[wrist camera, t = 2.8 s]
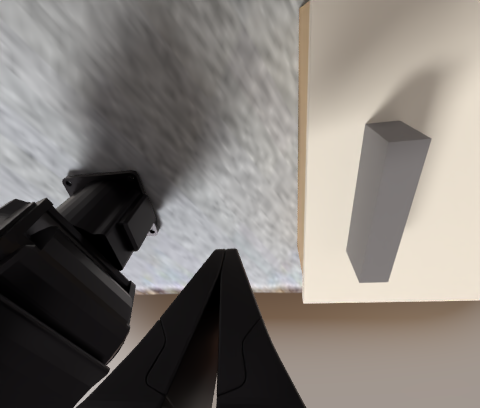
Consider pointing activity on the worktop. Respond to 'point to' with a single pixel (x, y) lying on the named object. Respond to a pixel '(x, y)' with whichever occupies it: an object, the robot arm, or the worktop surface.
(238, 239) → the worktop surface
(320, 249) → the lid
